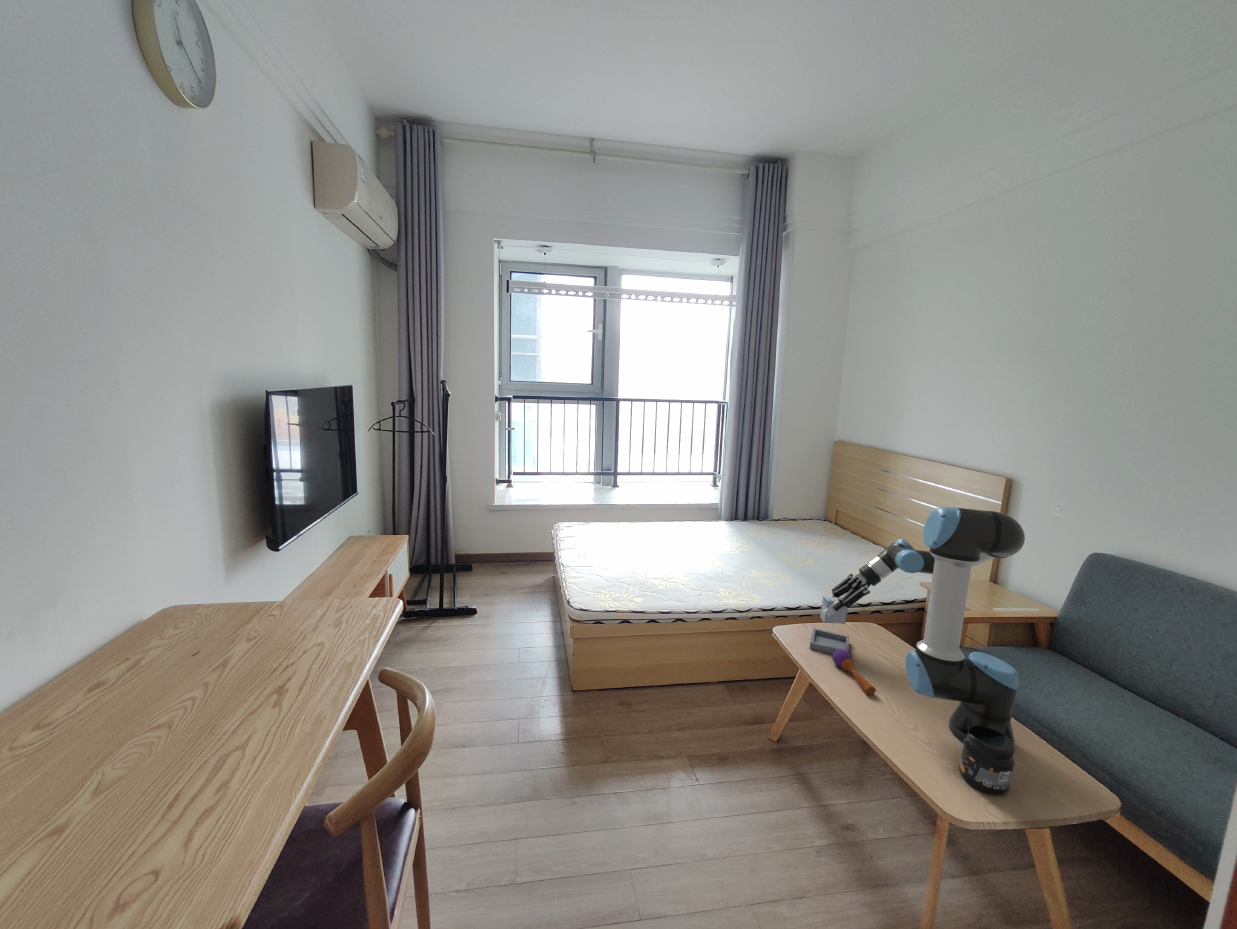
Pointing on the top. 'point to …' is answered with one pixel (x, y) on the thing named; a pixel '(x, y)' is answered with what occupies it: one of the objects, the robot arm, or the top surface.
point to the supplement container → (987, 760)
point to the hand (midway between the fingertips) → (823, 610)
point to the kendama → (851, 669)
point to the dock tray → (828, 641)
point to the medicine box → (835, 617)
